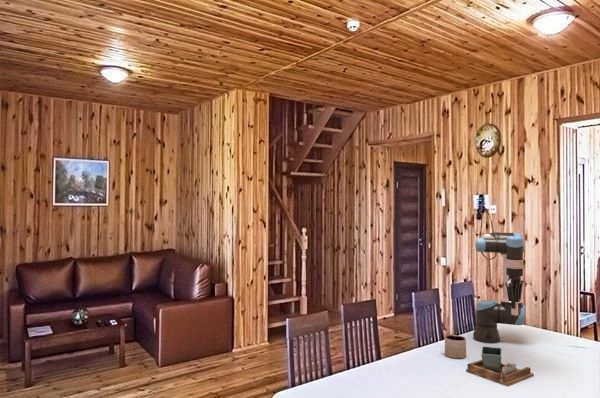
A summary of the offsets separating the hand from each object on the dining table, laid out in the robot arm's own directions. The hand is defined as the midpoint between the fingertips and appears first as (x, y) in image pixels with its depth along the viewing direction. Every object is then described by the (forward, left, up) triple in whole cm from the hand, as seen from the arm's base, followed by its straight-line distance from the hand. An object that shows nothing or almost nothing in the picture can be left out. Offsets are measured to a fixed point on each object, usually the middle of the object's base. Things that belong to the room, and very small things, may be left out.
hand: (514, 314), depth 219 cm
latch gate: (+8, -20, -24) cm, 32 cm away
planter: (-26, -11, -26) cm, 39 cm away
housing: (+2, -16, -26) cm, 30 cm away
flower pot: (-1, -17, -24) cm, 30 cm away
